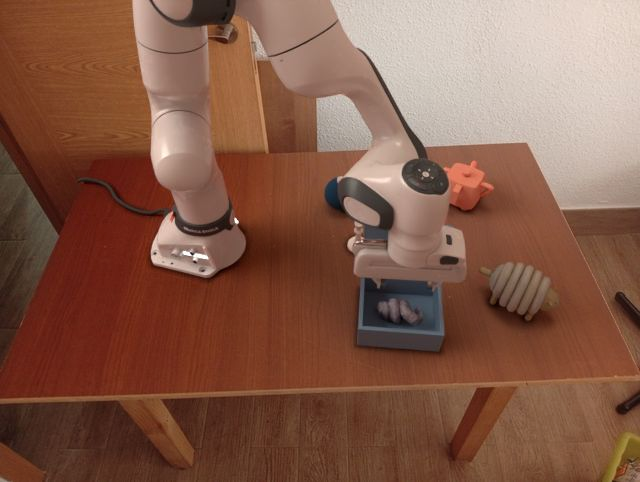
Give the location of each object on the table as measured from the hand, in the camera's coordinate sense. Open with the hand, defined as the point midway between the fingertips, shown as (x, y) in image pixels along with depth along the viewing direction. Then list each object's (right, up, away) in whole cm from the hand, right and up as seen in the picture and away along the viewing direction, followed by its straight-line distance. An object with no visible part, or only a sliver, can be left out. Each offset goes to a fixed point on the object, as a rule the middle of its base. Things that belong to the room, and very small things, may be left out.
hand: (405, 287), depth 93 cm
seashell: (0, -7, +9) cm, 12 cm away
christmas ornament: (-11, +18, +31) cm, 38 cm away
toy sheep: (+25, -4, +12) cm, 28 cm away
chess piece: (-8, +8, +23) cm, 25 cm away
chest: (0, -8, +9) cm, 12 cm away
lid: (0, +7, +2) cm, 7 cm away
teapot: (+20, +20, +32) cm, 43 cm away
